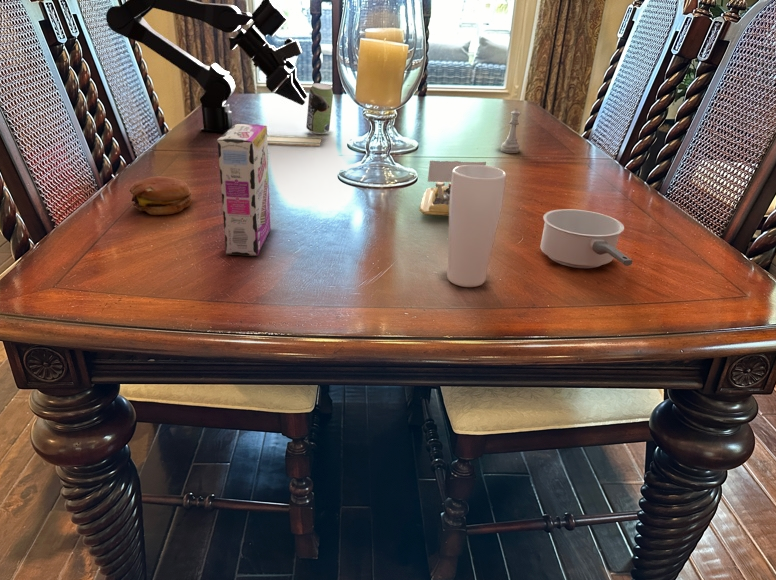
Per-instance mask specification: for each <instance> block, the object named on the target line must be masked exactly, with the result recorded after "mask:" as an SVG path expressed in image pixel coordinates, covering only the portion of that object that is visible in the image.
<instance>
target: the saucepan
mask: <svg viewBox="0 0 776 580" xmlns="http://www.w3.org/2000/svg"><path fill="white" fill-rule="evenodd" d="M542 218H543V221H544V225H543V231H542V236H541V241H540V250H541V252H542V253H543V254H544V255H546V256H547V257H548V258H549V259H550V260H551V261H553V262H555V263H557V264H560V265H563V266H567V267H571V268H578V269H595V268H598V267H601V266H602V265H607V264H609V263H611V262H612V261H613V260H614V259H615V260H617V261H618V262H619V263H621V265H623V266H625V267H630V266H631V265H632V264H633V262H634V261H633V260H632V258H630V257H628V256H627V255H625V254H624V252H622V251H620V250H619V249H617V246H618V242H619V239H620V235H621V233H623V232H624V230H625V226H624V224H623V223H622V222H621V221H620V220H618V219H616V218H614V217H612V216H610V215H607V214H603V213H600V212H596V211H591V210H585V209H575V208H573V209H572V208H570V209H569V208H565V209H562V208H561V209H554V210H550V211H547V212H545V213H544V214H543V216H542Z"/></svg>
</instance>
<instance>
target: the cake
mask: <svg viewBox="0 0 776 580" xmlns="http://www.w3.org/2000/svg"><path fill="white" fill-rule="evenodd" d="M462 165H485V166H487V162H486V161H477V162H476V161H458V160H454V161H453V160H452V161H449V160H445V161H444V160H443V161H440V160H429V165H428V167H429V168H428V174H427V182H433V183H435V186H434V187H428V188H426V189H425V191H424V193H423V195H422V196H421V201H420V206H419V212H420V213H421V214H423V215H432V216H446V217H447V216H448V217H449V199H450V188H451V181H452V174H453V169H454V168H456V167H458V166H462ZM446 183H448V185H447V186H445V185H446ZM543 204H544V203H540V205H541V206H543Z"/></svg>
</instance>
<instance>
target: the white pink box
mask: <svg viewBox="0 0 776 580" xmlns="http://www.w3.org/2000/svg"><path fill="white" fill-rule="evenodd" d="M232 126H233V127H232V128H231V129H230V130H229V131H227V132H225V133H223V134H222V135H220V137H219V138H217V140H216V142H217V151H218V165H219V166H218V167H219V179H220V191H221V192H220V193H221V204H222V217H223V229H224V240H225V242H224V243H225V254H226V255H229V256H231V255H232V256H246V257H258V256H259V254H260V252H261V249H262V248H263V245H264V243H265V242H266V239H267V238H268V236H269V233H270V232H271V205H270V183H269V182H270V181H269V180H270V179H269V148H268V144H267V135H268V126H267V125H262V124H252V123H251V124H249V123H236V124H234V125H232Z"/></svg>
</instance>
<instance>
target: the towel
mask: <svg viewBox="0 0 776 580" xmlns="http://www.w3.org/2000/svg"><path fill="white" fill-rule="evenodd" d="M322 140H323V137H320V136H297V135H275V134H274V135H273V134H267V145H274V146H275V145H277V146H300V147H302V146H303V147H320V145H321V142H322Z"/></svg>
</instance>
